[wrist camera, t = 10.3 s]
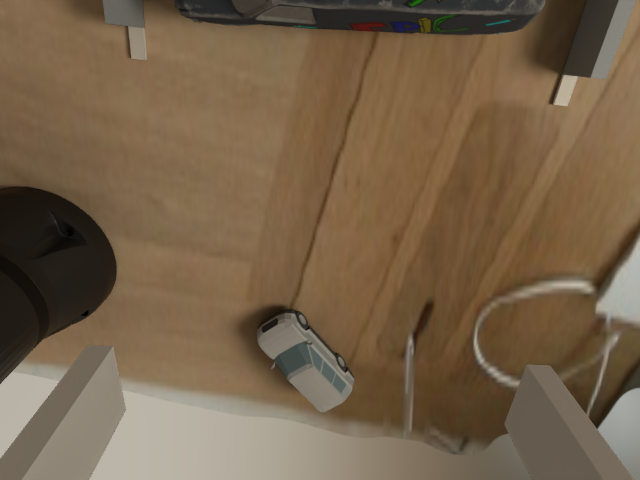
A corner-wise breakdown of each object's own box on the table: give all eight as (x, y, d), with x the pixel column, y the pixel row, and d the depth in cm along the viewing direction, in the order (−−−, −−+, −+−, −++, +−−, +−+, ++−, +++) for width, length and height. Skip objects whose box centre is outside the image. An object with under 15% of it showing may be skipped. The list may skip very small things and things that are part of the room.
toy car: (291, 297, 44) (287, 325, 39) (356, 369, 48) (360, 402, 44) (252, 322, 45) (244, 352, 41) (318, 389, 50) (318, 423, 45)
